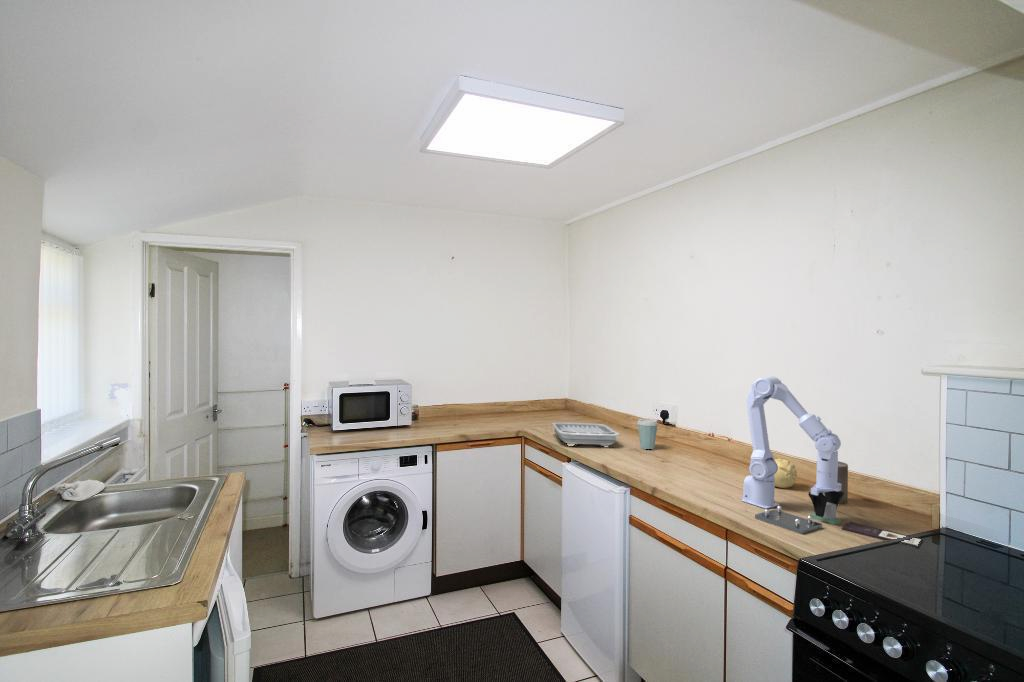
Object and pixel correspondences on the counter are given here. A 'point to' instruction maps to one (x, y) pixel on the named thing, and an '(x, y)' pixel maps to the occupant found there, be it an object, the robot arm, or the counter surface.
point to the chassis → (789, 521)
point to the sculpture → (785, 474)
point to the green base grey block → (828, 514)
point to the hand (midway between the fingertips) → (825, 514)
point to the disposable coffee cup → (647, 432)
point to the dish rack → (585, 433)
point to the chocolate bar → (879, 533)
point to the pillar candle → (842, 481)
